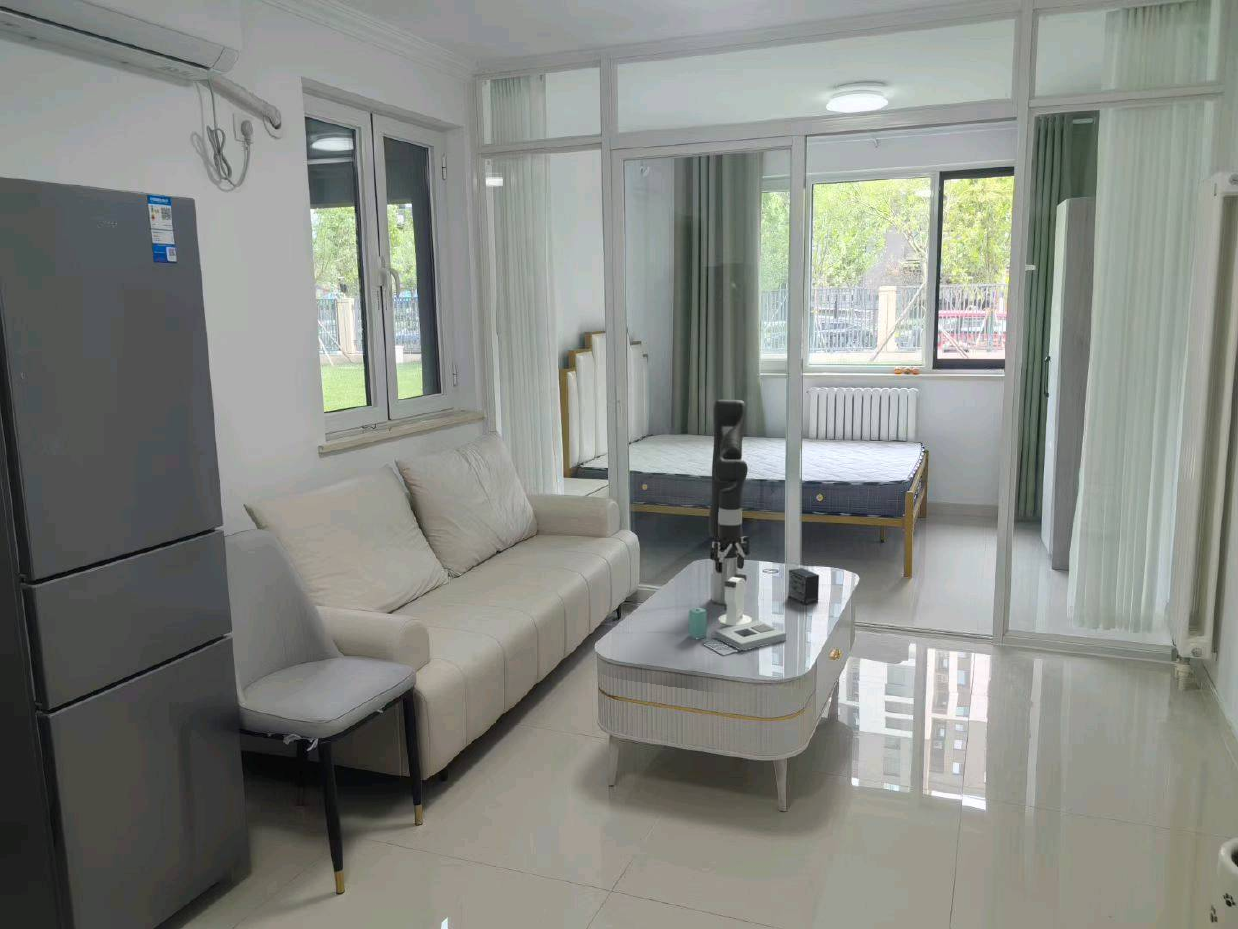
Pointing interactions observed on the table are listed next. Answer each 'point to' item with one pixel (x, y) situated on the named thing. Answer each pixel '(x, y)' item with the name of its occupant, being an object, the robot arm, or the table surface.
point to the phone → (717, 644)
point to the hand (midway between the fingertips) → (729, 570)
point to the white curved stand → (735, 601)
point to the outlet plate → (750, 635)
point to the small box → (803, 586)
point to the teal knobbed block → (697, 622)
